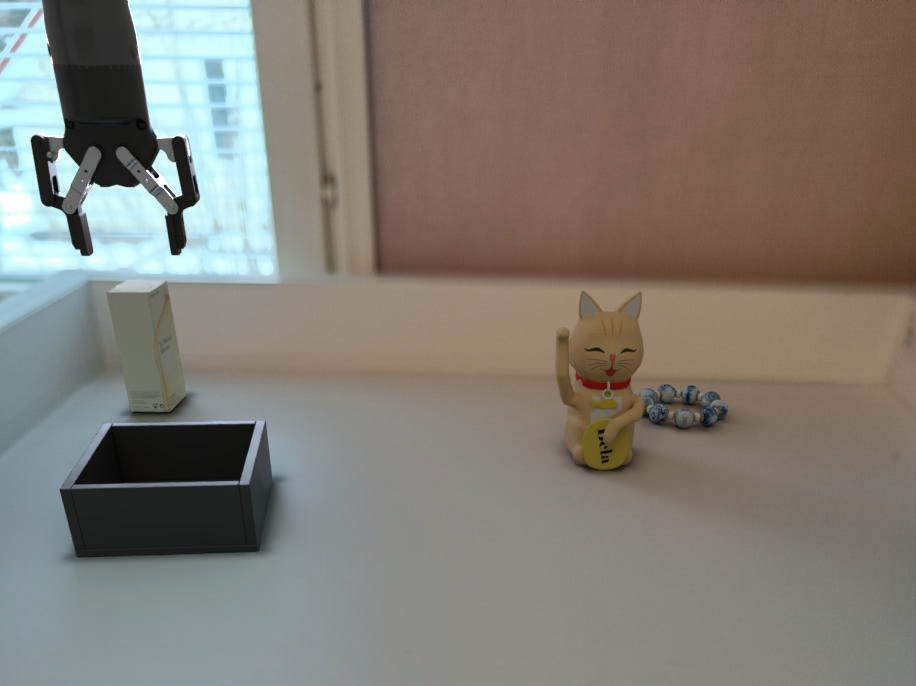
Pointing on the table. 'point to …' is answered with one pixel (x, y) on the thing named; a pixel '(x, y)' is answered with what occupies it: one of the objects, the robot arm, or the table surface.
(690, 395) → the bracelet
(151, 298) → the cosmetic box
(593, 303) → the figurine
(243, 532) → the dark grey open box
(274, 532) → the table surface
